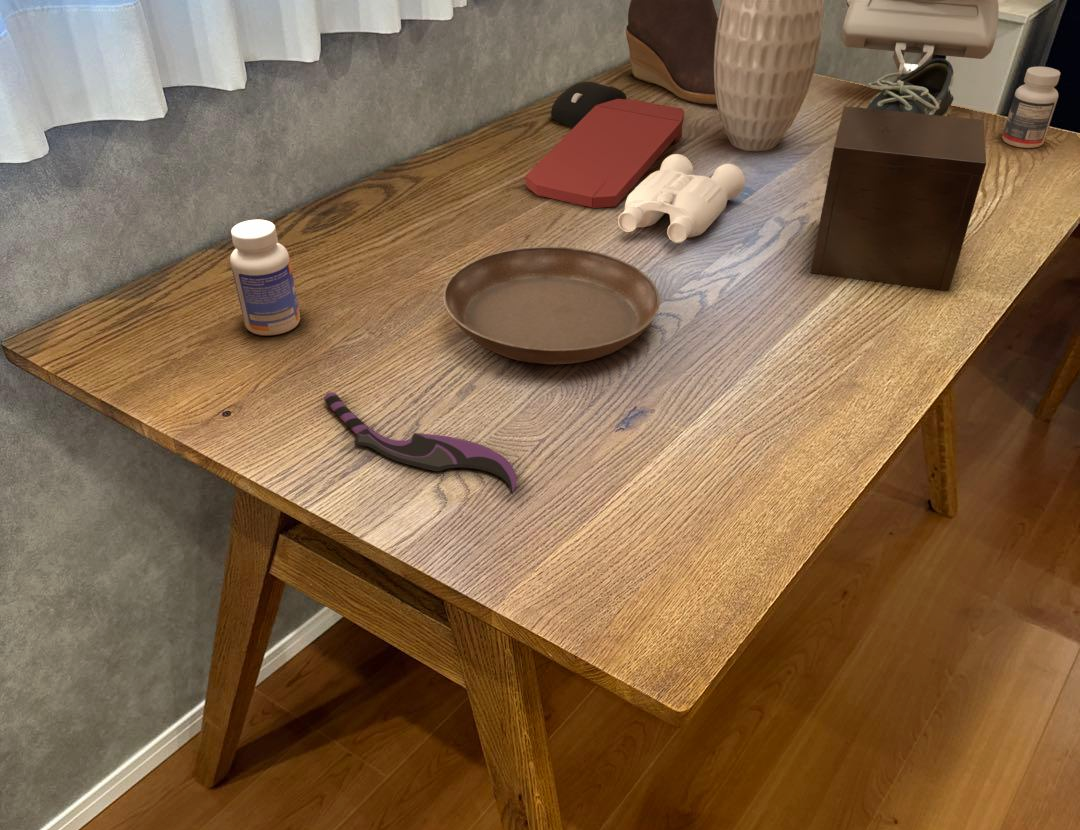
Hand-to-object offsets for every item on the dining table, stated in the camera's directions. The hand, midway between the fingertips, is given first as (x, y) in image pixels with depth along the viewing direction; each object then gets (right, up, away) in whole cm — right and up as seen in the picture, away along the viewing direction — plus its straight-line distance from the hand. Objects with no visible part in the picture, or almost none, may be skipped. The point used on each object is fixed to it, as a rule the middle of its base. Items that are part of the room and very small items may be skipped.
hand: (907, 79), depth 140 cm
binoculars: (-35, -27, -23) cm, 50 cm away
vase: (-22, -11, -5) cm, 26 cm away
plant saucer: (-50, -42, -41) cm, 77 cm away
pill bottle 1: (-77, -42, -41) cm, 97 cm away
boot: (-29, +3, +10) cm, 30 cm away
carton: (-42, -16, -11) cm, 46 cm away
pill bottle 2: (+13, -11, -5) cm, 18 cm away
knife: (-61, -56, -56) cm, 100 cm away
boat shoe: (-3, -10, -5) cm, 12 cm away
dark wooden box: (-14, -33, -30) cm, 47 cm away
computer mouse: (-43, -4, +2) cm, 44 cm away
